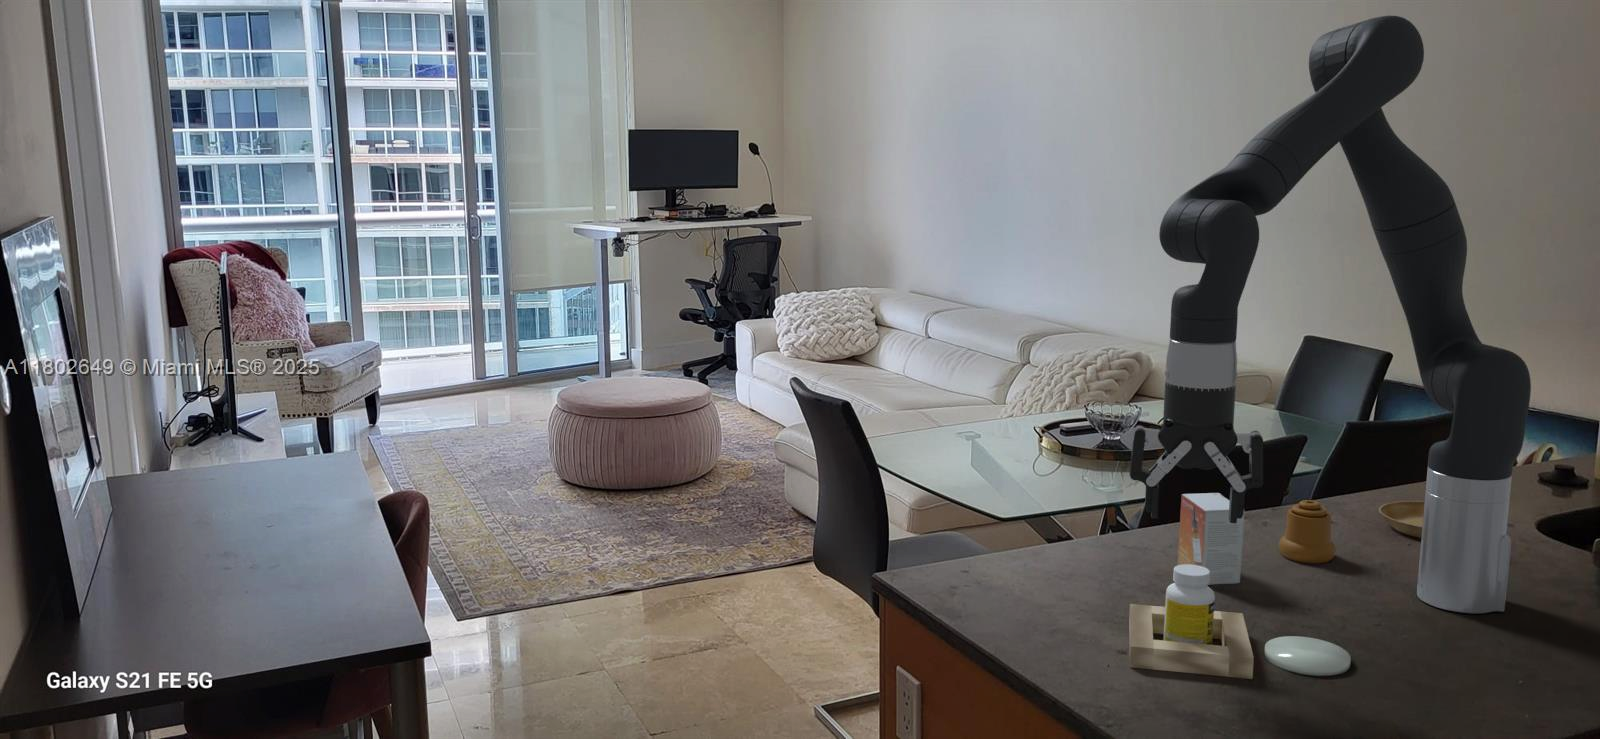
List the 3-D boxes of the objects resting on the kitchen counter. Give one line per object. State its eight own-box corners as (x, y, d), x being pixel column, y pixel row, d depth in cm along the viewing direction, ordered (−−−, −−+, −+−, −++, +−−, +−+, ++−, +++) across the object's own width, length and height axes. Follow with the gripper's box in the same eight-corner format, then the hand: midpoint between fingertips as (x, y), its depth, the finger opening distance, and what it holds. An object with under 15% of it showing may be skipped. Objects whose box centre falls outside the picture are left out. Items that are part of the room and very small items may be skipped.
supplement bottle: (1215, 661, 134) (1219, 579, 132) (1165, 657, 135) (1169, 576, 133) (1208, 642, 139) (1212, 563, 137) (1160, 638, 140) (1164, 560, 139)
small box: (1176, 565, 165) (1180, 493, 163) (1215, 563, 165) (1219, 491, 164) (1200, 586, 157) (1204, 510, 155) (1241, 584, 158) (1245, 508, 156)
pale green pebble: (1342, 646, 137) (1343, 640, 137) (1357, 679, 129) (1357, 672, 129) (1260, 639, 140) (1260, 633, 140) (1269, 671, 131) (1269, 664, 131)
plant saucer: (1356, 521, 184) (1357, 505, 183) (1431, 512, 188) (1432, 496, 188) (1432, 551, 170) (1433, 534, 169) (1511, 540, 174) (1513, 523, 174)
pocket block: (1241, 632, 142) (1242, 613, 141) (1252, 679, 129) (1253, 657, 129) (1129, 623, 145) (1130, 603, 145) (1129, 667, 133) (1130, 646, 132)
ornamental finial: (1329, 568, 163) (1272, 559, 167) (1339, 553, 169) (1284, 544, 173) (1333, 513, 161) (1276, 504, 166) (1343, 499, 168) (1288, 492, 172)
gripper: (1264, 376, 133) (1255, 513, 136) (1134, 370, 137) (1128, 505, 140) (1272, 388, 126) (1262, 533, 129) (1134, 383, 130) (1128, 524, 133)
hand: (1192, 518), depth 134 cm, fingers open, 8 cm apart
